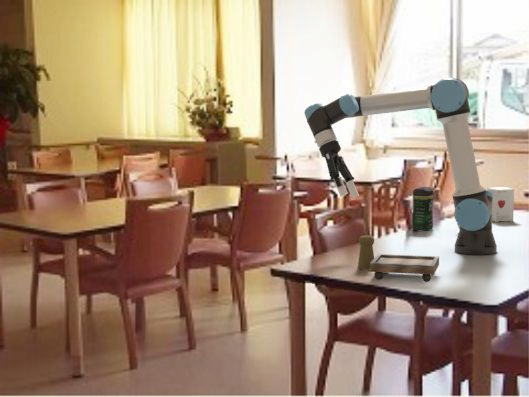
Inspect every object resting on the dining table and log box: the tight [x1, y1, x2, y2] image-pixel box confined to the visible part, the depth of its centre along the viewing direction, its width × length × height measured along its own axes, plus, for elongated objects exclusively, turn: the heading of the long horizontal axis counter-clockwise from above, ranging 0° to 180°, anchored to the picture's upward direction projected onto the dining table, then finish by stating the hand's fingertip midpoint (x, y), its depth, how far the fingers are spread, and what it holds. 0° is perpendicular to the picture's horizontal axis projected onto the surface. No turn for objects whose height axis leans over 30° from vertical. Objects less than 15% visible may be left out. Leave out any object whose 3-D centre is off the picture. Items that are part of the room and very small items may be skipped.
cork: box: [357, 235, 375, 270], centre depth 281 cm, size 6×6×11 cm
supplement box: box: [486, 186, 515, 223], centre depth 374 cm, size 9×9×15 cm
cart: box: [369, 253, 440, 283], centre depth 265 cm, size 20×15×6 cm
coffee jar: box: [411, 186, 434, 231], centre depth 354 cm, size 10×8×19 cm
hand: (350, 196), depth 298 cm, fingers open, 13 cm apart
